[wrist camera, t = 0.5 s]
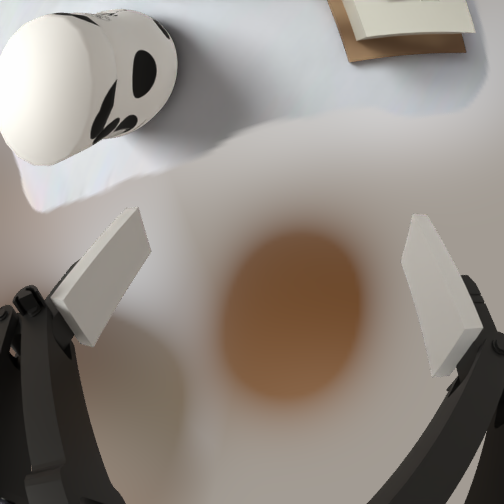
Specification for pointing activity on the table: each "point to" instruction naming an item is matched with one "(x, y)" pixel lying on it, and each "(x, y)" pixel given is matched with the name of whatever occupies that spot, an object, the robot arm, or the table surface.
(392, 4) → the well
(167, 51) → the milk container
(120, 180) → the table surface
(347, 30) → the board
